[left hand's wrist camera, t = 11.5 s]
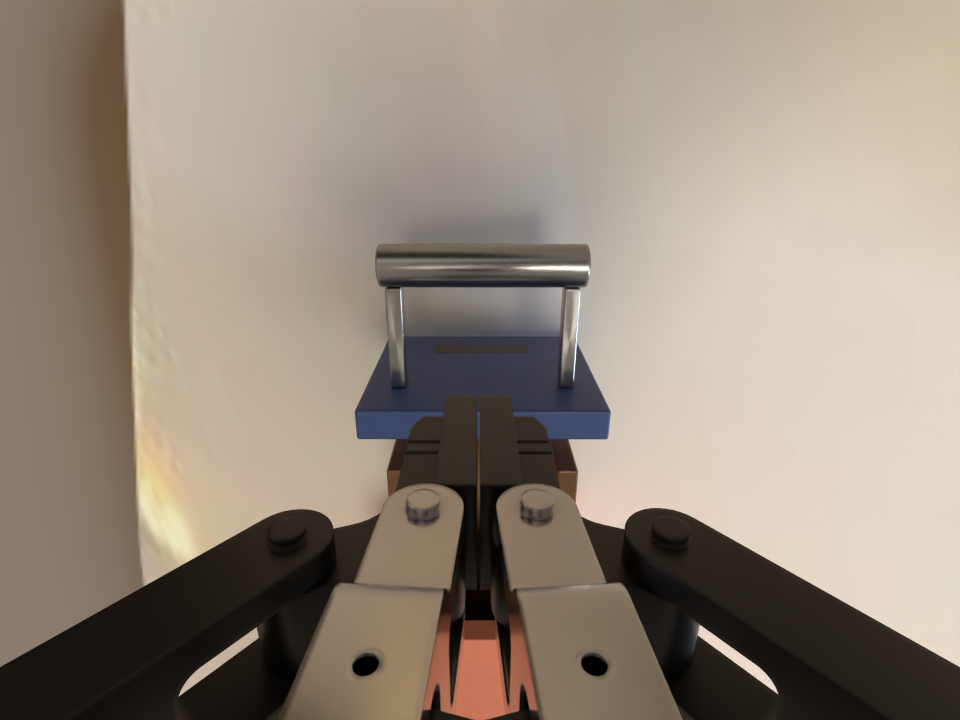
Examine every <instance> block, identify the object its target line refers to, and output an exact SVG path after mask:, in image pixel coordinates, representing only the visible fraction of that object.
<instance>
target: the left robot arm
mask: <svg viewBox="0 0 960 720" xmlns="http://www.w3.org/2000/svg"><path fill="white" fill-rule="evenodd" d="M465 590H477V396H446V400H445V407H444V414H443V416H423V417H422V418H421V419H420V420H419V421H418V422H417V423H415V424H414V425H413V426H412V427H411V430H410V434H409V438H408V443H407V446H406V450H405V454H404V459H403V463H402V467H401V471H400V475H399V479H398V483H397V487H396V491H395V493H393V494H392V495H391V496H390V497H389V498H388V499H387V500H386V501H385V503H384V505H383V508H382V510H381V513H380V514H378V515H377V516H375V517H373V518H371V519H369V520H366V521H364V522H361V523H357V524H353V525H349V526H344V527H340V528H335V529H333V525H332V523H331V521H330V520H329V518H328V517H326V516H325V515H324V514H322V513H320V512H317V511H313V510H306V509H297V510H289V511H284V512H280V513H277V514H275V515H272V516H270V517H268V518H266V519H264V520H262V521H260V522H258V523H256V524H255V525H253V526H251V527H249V528H248V529H246V530H244V531H242V532H240V533H239V534H237V535H235V536H233V537H231V538H230V539H228V540H226V541H224V542H223V543H221V544H219V545H217V546H215V547H214V548H212V549H210V550H208V551H207V552H205V553H203V554H201V555H199V556H198V557H196V558H194V559H192V560H190V561H189V562H187V563H185V564H183V565H182V566H180V567H178V568H176V569H174V570H173V571H171V572H169V573H167V574H166V575H164V576H162V577H160V578H158V579H157V580H155V581H153V582H151V583H149V584H148V585H146V586H144V587H142V588H141V589H139V590H137V591H135V592H133V593H132V594H130V595H128V596H126V597H125V598H123V599H121V600H119V601H117V602H116V603H114V604H112V605H110V606H108V607H107V608H105V609H103V610H101V611H100V612H98V613H96V614H94V615H92V616H91V617H89V618H87V619H85V620H84V621H82V622H80V623H78V624H76V625H75V626H73V627H71V628H69V629H67V630H66V631H64V632H62V633H60V634H59V635H57V636H55V637H53V638H52V639H50V640H48V641H46V642H44V643H43V644H41V645H39V646H37V647H35V648H34V649H32V650H30V651H28V652H27V653H25V654H23V655H21V656H19V657H18V658H16V659H14V660H12V661H10V662H9V663H7V664H5V665H3V666H2V667H0V720H474V719H469V718H466V717H462V716H458V715H455V710H456V702H457V693H458V685H459V677H460V668H461V660H462V652H463V643H464V635H465ZM480 590H491V606H492V611H493V614H494V616H495V635H496V643H497V652H498V660H499V668H500V677H501V685H502V693H503V702H504V710H505V715H502V716H498V717H494V718H491V719H486V720H960V667H958V666H957V665H955V664H953V663H951V662H950V661H948V660H946V659H944V658H942V657H941V656H939V655H937V654H935V653H934V652H932V651H930V650H928V649H926V648H925V647H923V646H921V645H919V644H917V643H916V642H914V641H912V640H910V639H909V638H907V637H905V636H903V635H901V634H900V633H898V632H896V631H894V630H893V629H891V628H889V627H887V626H885V625H884V624H882V623H880V622H878V621H876V620H875V619H873V618H871V617H869V616H868V615H866V614H864V613H862V612H860V611H859V610H857V609H855V608H853V607H852V606H850V605H848V604H846V603H844V602H843V601H841V600H839V599H837V598H835V597H834V596H832V595H830V594H828V593H827V592H825V591H823V590H821V589H819V588H818V587H816V586H814V585H812V584H811V583H809V582H807V581H805V580H803V579H802V578H800V577H798V576H796V575H794V574H793V573H791V572H789V571H787V570H786V569H784V568H782V567H780V566H778V565H777V564H775V563H773V562H771V561H770V560H768V559H766V558H764V557H762V556H761V555H759V554H757V553H755V552H753V551H752V550H750V549H748V548H746V547H745V546H743V545H741V544H739V543H737V542H736V541H734V540H732V539H730V538H729V537H727V536H725V535H723V534H721V533H720V532H718V531H716V530H714V529H712V528H711V527H709V526H707V525H705V524H704V523H702V522H700V521H698V520H696V519H695V518H693V517H691V516H689V515H686V514H684V513H681V512H678V511H674V510H670V509H662V508H650V509H644V510H641V511H638V512H636V513H634V514H633V515H631V516H630V517H629V519H628V520H627V522H626V524H625V529H620V528H616V527H611V526H607V525H602V524H599V523H595V522H592V521H590V520H587V519H585V518H583V517H581V515H580V513H579V510H578V508H577V505H576V503H575V501H574V500H573V499H572V498H571V497H570V496H569V495H568V494H567V493H565V492H564V491H562V490H561V489H560V485H559V481H558V476H557V472H556V468H555V464H554V459H553V455H552V451H551V446H550V444H549V438H548V434H547V429H546V427H545V426H544V425H543V424H542V423H541V422H540V421H538V420H537V419H536V418H535V417H514V414H513V406H512V398H511V396H480ZM699 625H701V626H703V627H704V628H705V629H707V630H708V631H710V632H711V633H712V634H714V635H715V636H717V637H718V638H719V639H721V640H722V641H724V642H725V643H726V644H728V645H729V646H731V647H732V648H733V649H735V650H736V651H738V652H739V653H740V654H742V655H743V656H745V657H746V658H747V659H749V660H750V661H752V662H753V663H754V664H756V665H757V666H758V667H760V668H761V669H762V670H763V671H764V672H765V673H766V674H767V675H768V676H769V678H770V679H771V680H772V682H773V683H774V685H775V687H776V689H777V691H778V694H779V695H778V694H777V693H775V692H774V691H773V690H771V689H770V688H769V687H767V686H766V685H764V684H763V683H762V682H760V681H759V680H758V679H756V678H755V677H754V676H752V675H751V674H749V673H748V672H747V671H745V670H744V669H743V668H741V667H740V666H739V665H737V664H736V663H734V662H733V661H732V660H730V659H729V658H728V657H726V656H725V655H724V654H722V653H721V652H719V651H718V650H717V649H715V648H714V647H713V646H711V645H710V644H709V643H707V642H706V641H704V640H703V639H702V638H700V637H699V636H698V630H699ZM256 627H257V630H258V635H259V638H258V639H257V640H256V641H254V642H253V643H251V644H250V645H249V646H247V647H246V648H245V649H243V650H242V651H241V652H239V653H238V654H236V655H235V656H234V657H232V658H231V659H230V660H228V661H227V662H226V663H224V664H223V665H221V666H220V667H219V668H217V669H216V670H215V671H213V672H212V673H211V674H209V675H208V676H206V677H205V678H204V679H202V680H201V681H200V682H198V683H197V684H195V685H194V686H193V687H191V688H190V689H189V690H187V691H186V692H185V693H183V694H182V695H180V696H179V693H180V691H181V689H182V687H183V685H184V684H185V682H186V681H187V680H188V679H189V677H190V676H191V675H192V674H193V673H194V672H195V671H196V670H198V669H199V668H200V667H201V666H203V665H204V664H206V663H207V662H208V661H210V660H211V659H213V658H214V657H215V656H217V655H218V654H220V653H221V652H222V651H224V650H225V649H227V648H228V647H229V646H231V645H232V644H234V643H235V642H236V641H238V640H239V639H241V638H242V637H243V636H245V635H246V634H248V633H249V632H250V631H252V630H253V629H255V628H256ZM178 696H179V697H178Z"/></svg>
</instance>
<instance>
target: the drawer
mask: <svg viewBox="0 0 960 720" xmlns="http://www.w3.org/2000/svg"><path fill="white" fill-rule="evenodd" d="M375 268H376V277H377V282H378V284H379V286H380V287H386V288H385V298H386V313H387V328H388V342H387V344H386V346H385V348H384V351H383V353H382V355H381V357H380V359H379V361H378V363H377V365H376V368H375V370H374V372H373V374H372V376H371V378H370V380H369V383H368V385H367V387H366V389H365V391H364V393H363V395H362V397H361V400H360V402H359V404H358V406H357V408H356V410H355V419H356V429H357V437H358V439H396V441H395V444H394V448H393V451H392V455H391V458H390V462H389V465H388V469H387V480H388V494H389V497H390V496H391V495H392V494H393V493H395V491H396V487H397V483H398V479H399V475H400V471H401V467H402V463H403V459H404V454H405V450H406V446H407V443H408V438H409V434H410V430H411V427H412V426H413V425H414V424H415V423H417V422H418V421H419V420H420V419H421V418H422V417H423V416H443V414H444V407H445V400H446V396H477V590H465V620H495V616H494V614H493V611H492V606H491V590H480V396H511V398H512V406H513V414H514V417H535V418H536V419H537V420H538V421H540V422H541V423H542V424H543V425H544V426H545V427H546V429H547V434H548V438H549V444H550V446H551V451H552V455H553V459H554V464H555V468H556V472H557V476H558V481H559V485H560V489H561V490H562V491H564V492H565V493H567V494H568V495H569V496H570V497H571V498H572V499H573V500H574V501H575V503H576V491H577V478H578V470H577V466H576V463H575V460H574V456H573V453H572V450H571V446H570V443H569V440H568V439H607V438H608V433H609V424H610V414H611V412H610V409H609V407H608V405H607V403H606V401H605V399H604V397H603V395H602V393H601V391H600V389H599V387H598V385H597V383H596V381H595V379H594V377H593V375H592V373H591V371H590V369H589V366H588V364H587V362H586V360H585V358H584V356H583V354H582V352H581V350H580V348H579V346H578V344H577V334H578V320H579V307H580V293H581V290H580V288H579V287H586V286H587V284H588V281H589V277H590V268H591V257H590V250H589V246H588V245H587V244H379V245H378V246H377V249H376V257H375ZM403 287H563V290H562V306H561V323H560V337H406V334H405V315H404V296H403Z"/></svg>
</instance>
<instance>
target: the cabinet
mask: <svg viewBox="0 0 960 720" xmlns="http://www.w3.org/2000/svg"><path fill="white" fill-rule="evenodd" d="M455 715H458V716H462V717H466V718H469V719H474V720H486V719H491V718H494V717H498V716H502V715H505V710H504V702H503V693H502V685H501V677H500V668H499V660H498V652H497V643H496V635H495V620H465V635H464V643H463V652H462V660H461V668H460V677H459V685H458V693H457V702H456V710H455Z"/></svg>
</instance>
